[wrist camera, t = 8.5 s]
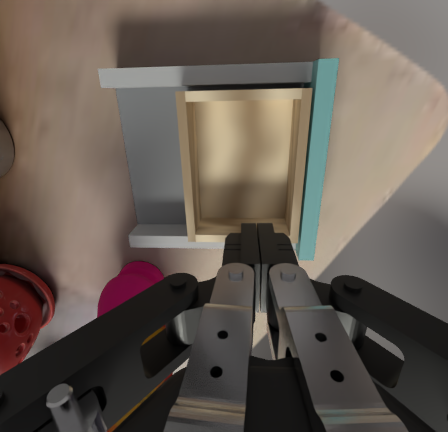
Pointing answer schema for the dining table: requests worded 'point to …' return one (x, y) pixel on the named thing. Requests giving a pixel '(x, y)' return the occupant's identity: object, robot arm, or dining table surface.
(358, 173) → the dining table surface
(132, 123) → the bay
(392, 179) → the dining table surface
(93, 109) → the dining table surface
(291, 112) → the crate
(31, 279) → the plant pot
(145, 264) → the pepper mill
